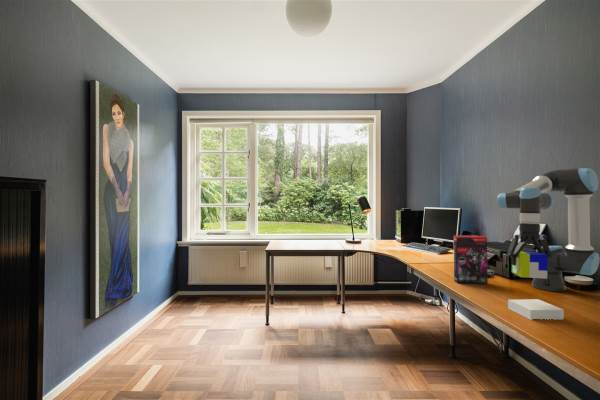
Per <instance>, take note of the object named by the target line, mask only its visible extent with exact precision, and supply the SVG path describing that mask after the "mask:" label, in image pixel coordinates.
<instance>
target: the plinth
mask: <svg viewBox="0 0 600 400" xmlns="http://www.w3.org/2000/svg"><path fill="white" fill-rule="evenodd" d="M507 309H509V310H510V311H513V312H514V313H516V314H517V315H520V316H522V317H524V318H526V319H528V320H530V321H532V320H533V319H541V320H540V321H542V319H545V320H546V319H547V320H549V319H550V320H551V319H553V320H559V321H560V320H564V319H565V318H564V316H565V310H564V309H563V308H560V307H559V306H555V305H553V304H552V303H548V302H546V301H544V300H541V299H540V298H539V299H538V298H536V299H534V298H533V299H507ZM545 320H544V321H545ZM547 320H546V321H547Z"/></svg>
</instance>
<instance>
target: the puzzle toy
mask: <svg viewBox="0 0 600 400" xmlns="http://www.w3.org/2000/svg"><path fill="white" fill-rule="evenodd" d="M517 258H519V271H518V273H514V272H513V265H512V264H511V273H512V274H514V275H516V276H518V277H520V278H528V279H529V278H532V279H534V278H544V279H547V260H548V255H546V254H543V253H539V252H537V251H535V250H534V251H532V250H521V252H520V253H519V255H518V256H517Z"/></svg>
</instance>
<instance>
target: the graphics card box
mask: <svg viewBox="0 0 600 400" xmlns="http://www.w3.org/2000/svg"><path fill="white" fill-rule="evenodd" d="M487 269H488V237H487V236H485V235H453V281H454V282H456V283H457V284H458V283H459V284H479V285H480V284H488V281H489V280H488V279H489V276H488V275H487V274H488V273H487Z"/></svg>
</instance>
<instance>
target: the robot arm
mask: <svg viewBox="0 0 600 400" xmlns="http://www.w3.org/2000/svg"><path fill="white" fill-rule="evenodd" d="M597 190H599V178H598V175H597V173H596V172H595V170H594V169H592V168H589V167H588V168H587V167H586V168H585V167H579V168H566V169H564V168H563V169H554V170H551V171H547V172H544V173H542V174H539V175H537V176H535V177H534V178H533V179H532V181H530V182H528V183H526V184H524V185H522V186H520V187H518V188H516V189H514V190H512V191H510V192H502V193H499V194H498V195H497V197H496V198H497V199H496V203H497V205H498V207H500V208H501V209H515V210H516V209H519V222H520V223H519V224H518V225H519V226H518V227H519V228H518V229H519V234H514V233H513V234H512V237H511V238H512V239H511V242H510V245H509V247H508V250H507V252H506V256H508V257H509V258H511V261H510V263H511V266H512V265H513V272H514V273H518V271H519V258H517V256H518V255H519V253H520V252H521V251H523V248H525V247H526V246H527V245H532V246H533V247H534V248H535V249H536V251H537V252H539V253H543V254H546V255H548V260H547V279H544V278H532V279H533V280H532V281H531V287H533V288H535V289H539V290H543V291H549V292H565V291H566V290H567V286H566V283H565V279H564V277H563V272H565V273H572V274H577V275H578V274H579V275H586V276H592V275H594V274H595V273H596V272H597V270H598V268H599V264H600V254H599V253H598V252H595V248H594V247H593V246H592V245H591V223H590V221H591V219H590V217H591V215H590V209H591V208H590V198H591V197H592V196H594V193H595V192H596V191H597ZM549 192H563V196H564V197H566V198H567V223H568V224H567V225H568V226H567V227H568V228H567V229H568V230H567V231H568V235H567V236H568V244H567V245H565V246H564V248H563V246H562V245H549V243H548V241H547V239H548V236H547V235H546V234H540V231H541V224H540V223H541V210H549V209H551V208H552V207H554V205H555V197H554V196H553V195H552V194H551V193H549ZM597 192H598V191H597ZM539 240H540V241H539ZM514 273H513V274H514Z"/></svg>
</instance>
